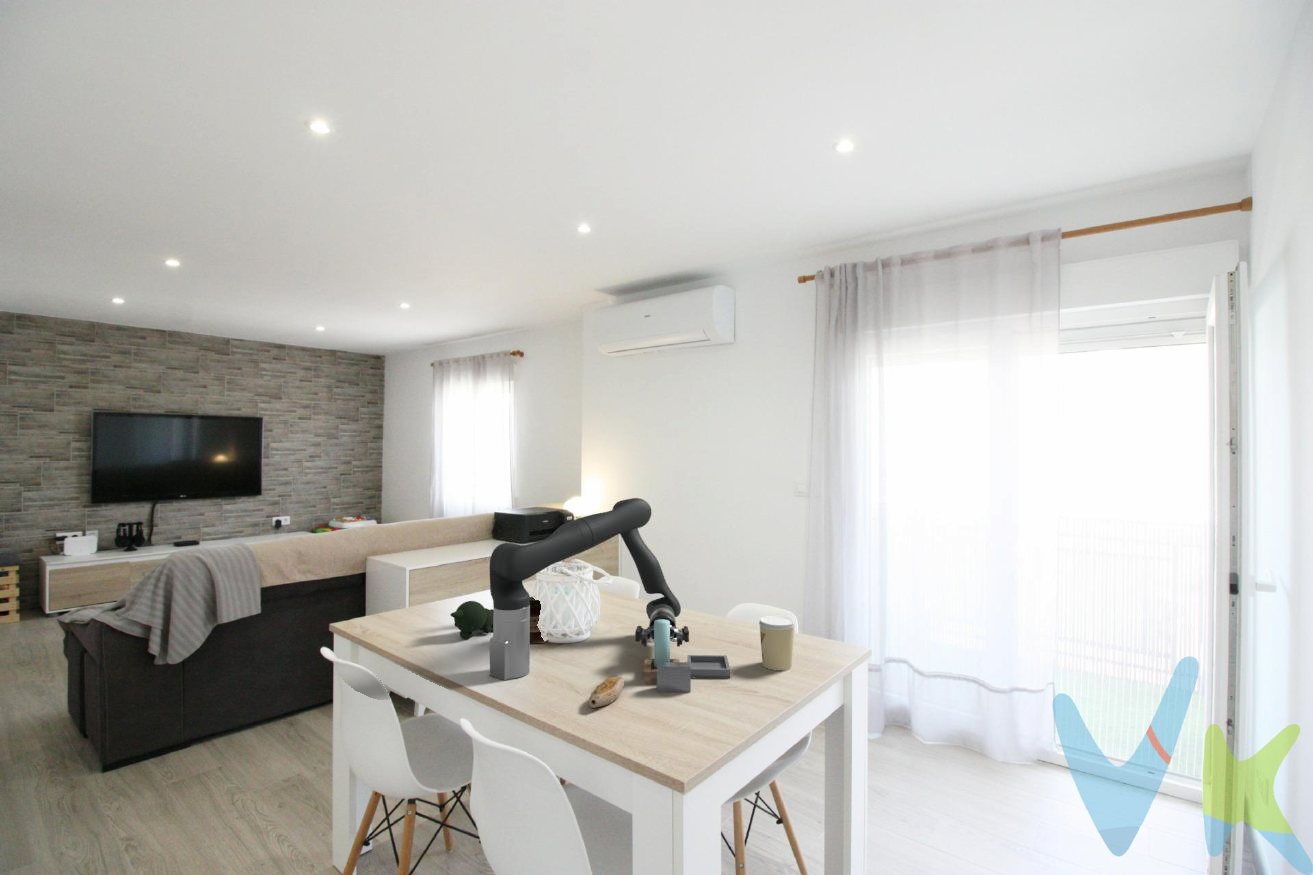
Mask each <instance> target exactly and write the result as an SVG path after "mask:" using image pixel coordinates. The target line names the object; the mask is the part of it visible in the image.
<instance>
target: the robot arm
mask: <svg viewBox="0 0 1313 875" xmlns="http://www.w3.org/2000/svg"><path fill="white" fill-rule="evenodd" d="M651 518H652V508H651V505H650V504H649V502H648V501H646V500H645V499H642V498H639V497H632V498H626V499H622V500H619V501H617V502H616V503H615V504H614V505H613V506H612V509H611V510H609V511H603V512H600V513H594V514H593V513H592V514H590V515H589V514H588V515H586V516H585V515H584V516H583V517H579V518H576V519H574V520H571V521H568V522H566V523H564V524H562V525H560V526H559V527H558V528H557V529H556V530H554V532H553V533H552V534H551V535H550V536H548V537H545V538H543V539H542V540H538V541H535V542H532V543H528V544H517V543H512V542H503V543H499V545H497V546H496V547H495V548H494V549H493V551H492V553H491V555H490V559H489V590H490V596H491V598H492V603H493V604H492V605H493V607H492V608H493V629H492V633H493V634H492V635H493V636H492V637H490V638H489V675H490V676H491V677H495V678H497V679H500V680H503V681H508V680H511V679H512V680H513V679H517V678H518V679H519V678H522V677H524V676H526V675H528V674H529V673H530V665H531V664H530V659H531V658H530V657H531V656H530V655H531V654H530V648H531V647H530V644H531V643H530V597H531V596H530V593H529V592H528V591H527V589H526V588H525V586H524V584H523V581H525V580H527V579H530V578H531V577H533V576H534V575H537V574H538V573H539V572H542V571H543V570H545V569H547V568H548V567H550V566H552V565H554V564H556V563H559V562H562V561H564V560H566V559H569V558H572V557H573V556H576V555H579V554H582V553H584V552H585V551H589V550H591V549H593V548H594V547H596V546H598V545H600V544H601V545H602V543H605V542H606V541H609V540H611V538H614V537H615V536H617V535H620V536H621V538H622V541H623V542H624V544H625V546H626V548H627V550H628V552H629V554H630V556H631V558H632V559H633V562H634V565H635V568H636V569H637V571H638V575H639V578H640V580H641V583H642V586H643V589H644V591H645V592H646V594H649V595H654V594H656V595H657V594H659V595H662V596H661V597H660V598H656V599H653V600H650V601H649V602H648V603H647V604H646V610H645V611H646V615H647V618H648V620H649V625H648V627H647V628H643V626H642V625H637V626H636V629H635V633H634V634H635V636H634V637H635V638H634V639H635V640H634V641H635V642H637V643H638V642H641V645H643V647H647V645H648V642H649V643H652V642H654V621H655V620H660V619H664V620H669V621H670V642H672V643H675V642H676V647H678V648H679V647H680V646H682V645H683V642H685V643H689V642H690V630H689V627H688V626H686V625H683V626H682V627H681V628H678V627H677V621H676V618H677V617H679V616H680V614H681V611H682V607H681V603H680V602H679V600H678V598H677V597H676V596H675V594H674V593H673V592H672V590H671V589H670V587H669V585H668V583H667V581H666V579H665V575H664V573H663V570H662V567H661V564H660V562H659V560H658V558H657V557H656V555H655V554H654V553H653V552H652V550H651V549H650V548H649V547H648V546H647V544H646V543H645V541H644V540H643V538H642V535H641V534H640V531H639V529H641V528H643V527H645V526H646V525H647V524H648V523H649V521H651Z"/></svg>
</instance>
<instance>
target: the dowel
mask: <svg viewBox="0 0 1313 875" xmlns="http://www.w3.org/2000/svg"><path fill="white" fill-rule="evenodd" d="M653 659H654V669H657V662H670V659H671V641H670V621H669V620H664V619H660V620H655V621H654V641H653Z"/></svg>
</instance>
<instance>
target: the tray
mask: <svg viewBox="0 0 1313 875" xmlns="http://www.w3.org/2000/svg"><path fill="white" fill-rule="evenodd" d="M728 659H729V658H728V656H727V655H724V654H723V655H722V654H720V655H719V654H716V655H715V654H714V655H713V654H711V655H710V654H709V655H707V654H695V655H694V654H687V659H686V660H687V661H686V662H690V666H691V679H693V678H695V679H697V678H698V679H702V678H703V679H731V666H730V663H729V660H728Z"/></svg>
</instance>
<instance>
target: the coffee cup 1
mask: <svg viewBox="0 0 1313 875" xmlns="http://www.w3.org/2000/svg"><path fill="white" fill-rule="evenodd" d="M533 597H534V596H530V644H543V643H545V642H544V640H543V638H542V637H541V632H540V630H539V628H538V626H537V624H538V621H539V615H540V610H541V604H540V601H539V600H535V599H534V598H533Z"/></svg>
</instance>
